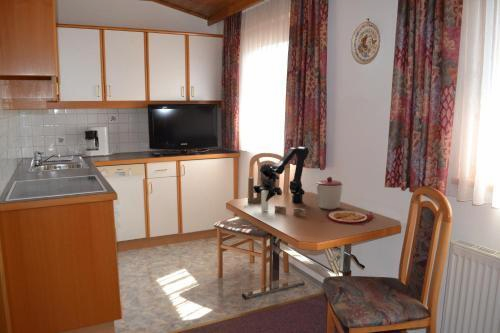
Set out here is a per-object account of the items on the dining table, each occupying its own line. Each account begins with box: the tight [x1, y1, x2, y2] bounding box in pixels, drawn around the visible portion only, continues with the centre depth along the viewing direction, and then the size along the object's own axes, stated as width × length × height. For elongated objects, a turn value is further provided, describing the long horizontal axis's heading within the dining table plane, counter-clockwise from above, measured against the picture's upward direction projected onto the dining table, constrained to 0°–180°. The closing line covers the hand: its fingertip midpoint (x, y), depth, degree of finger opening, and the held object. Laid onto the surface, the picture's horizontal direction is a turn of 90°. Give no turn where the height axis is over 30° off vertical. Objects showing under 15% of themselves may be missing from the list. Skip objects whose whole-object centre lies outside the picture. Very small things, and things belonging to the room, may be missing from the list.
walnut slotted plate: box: [274, 205, 306, 218], centre depth 255 cm, size 20×2×4 cm, turn 62°
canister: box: [315, 176, 344, 210], centre depth 270 cm, size 18×18×21 cm
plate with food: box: [321, 209, 374, 226], centre depth 245 cm, size 25×26×4 cm
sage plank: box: [260, 190, 269, 212], centre depth 262 cm, size 4×3×13 cm
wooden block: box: [247, 177, 264, 204], centre depth 287 cm, size 4×11×18 cm, turn 116°
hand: (263, 201), depth 261 cm, fingers closed on sage plank, 3 cm apart
